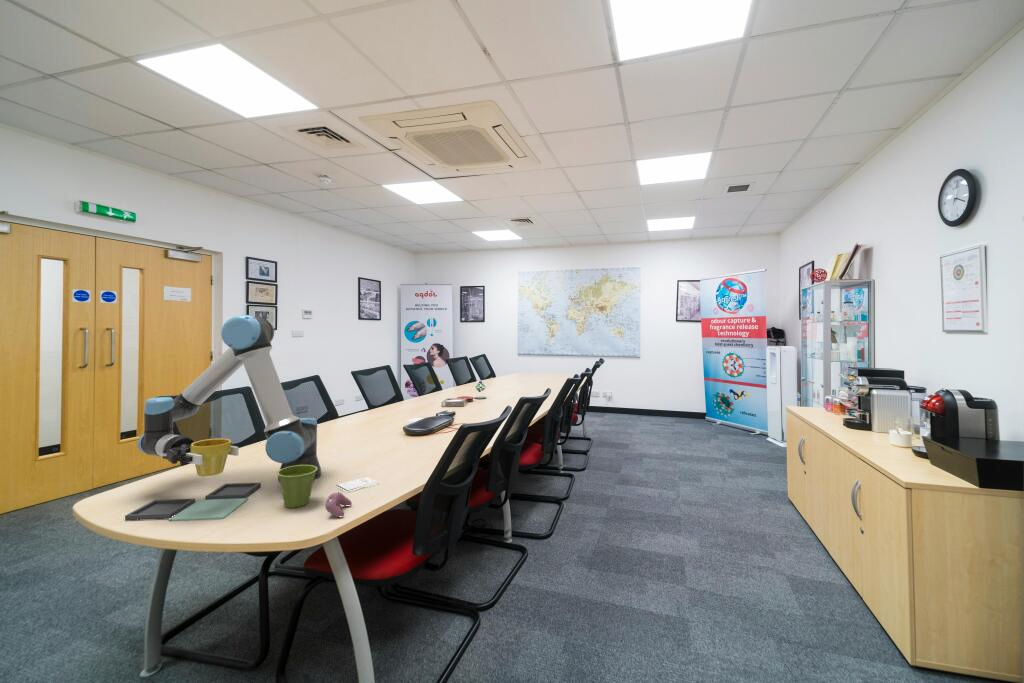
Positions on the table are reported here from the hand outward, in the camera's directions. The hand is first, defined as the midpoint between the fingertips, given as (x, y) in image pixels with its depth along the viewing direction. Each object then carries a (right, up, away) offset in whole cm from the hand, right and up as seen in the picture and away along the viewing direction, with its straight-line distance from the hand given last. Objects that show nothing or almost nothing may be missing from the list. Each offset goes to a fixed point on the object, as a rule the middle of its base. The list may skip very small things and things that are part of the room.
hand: (219, 455), depth 129 cm
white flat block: (+34, -19, +25) cm, 46 cm away
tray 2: (-6, -17, +15) cm, 24 cm away
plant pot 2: (+20, -18, +7) cm, 28 cm away
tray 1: (-18, -17, 0) cm, 25 cm away
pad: (-4, -18, +2) cm, 18 cm away
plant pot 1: (-4, -6, +2) cm, 7 cm away
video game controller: (+36, -19, +1) cm, 41 cm away
